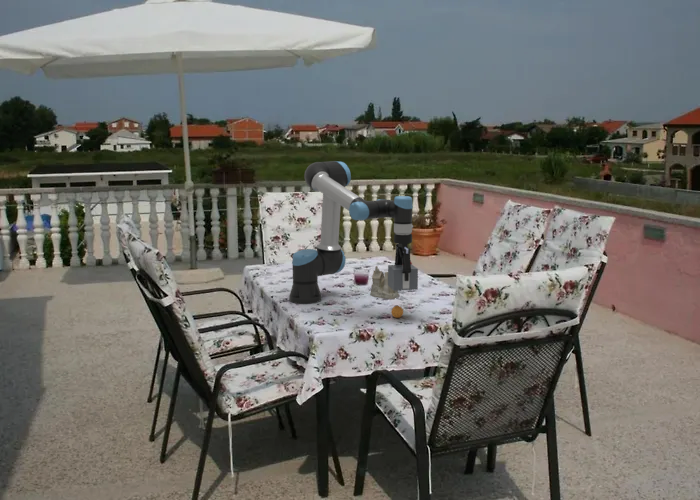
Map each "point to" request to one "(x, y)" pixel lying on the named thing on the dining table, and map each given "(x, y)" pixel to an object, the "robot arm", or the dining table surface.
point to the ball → (397, 311)
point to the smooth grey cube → (397, 277)
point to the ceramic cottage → (382, 286)
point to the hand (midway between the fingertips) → (402, 285)
